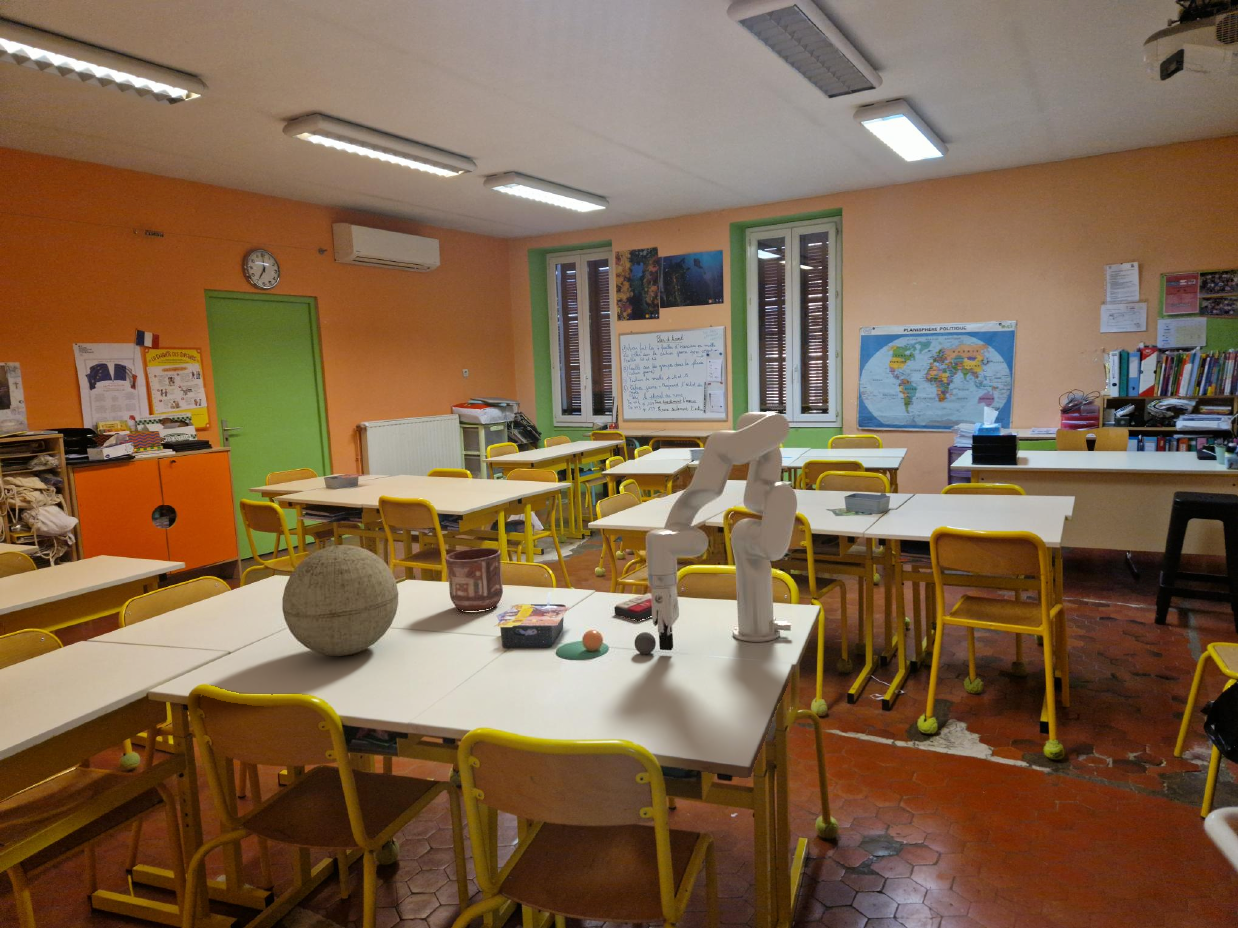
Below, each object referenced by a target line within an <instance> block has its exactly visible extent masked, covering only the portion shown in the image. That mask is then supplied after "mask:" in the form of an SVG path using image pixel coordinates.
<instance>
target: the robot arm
mask: <svg viewBox="0 0 1238 928" xmlns="http://www.w3.org/2000/svg"><path fill="white" fill-rule="evenodd" d="M789 434H790V424H789V421H788V419H787V418H786V417H785V416H784V415H783V414H781V413H778V412H772V411H771V412H769V411H768V412H767V411H765V412H764V411H752V412H751V411H749V412H746V413H743V414H741V415H740V416H739V417H738V419H737V421H736V430H724V429H723V430H717V431H714V432H712V433H711V434H710V435H709V436H708V438H707V440H706V443H705V444H704V448H703V450H702V453H701V455H700V458H699V461H698V463H697V466H696V469H695V471H694V474H693V477H692V479H691V482H690V483H689V485H688V486H687V487H686V488H685V489H684V490H683V492H681V494H680V495H679V497H678V498H677V499H676V501H675V502H674V504H673V505H672V506H671V508H670V511H669V513H668V516H667V518H666V521H665V523H664V526H663V528H662V529H659V528H658V529H653V530H650V531H648V532H647V533H646V536H645V547H646V548H645V550H646V567H647V585H648V587H650V588H651V594H652V595H651V596H652V618H651V619H652V624H653V625H654V627H656V626H657V632H658V643H659V650H660V651H661V650H662V651H672V650H673V648H674V636H673V625H674V624H675V622H676V621H677V620H678V618H679V616H680V607H679V597H678V590H677V586H678V584H679V578H678V564H677V563H678V562H677V561H678V560H677V558H696V557H700V556H701V555H703V554H704V553H705V552H706V551H707V549H708V547H709V538H708V536H707V534H706V533H705V532H704V531H703V530H702V529H699V528H698V527H694V526H692V524H693V522H694V519H695V518H696V515H697V514H698V513H699V512H700V511H701V510H702V508H704V507H705V506H706V505H708V504H710V503H711V502H713V501H715V500H717V499H718V498H720V497H721V496H722V495H723V493H724V490H725V487H726V485H727V482H728V480H729V477H730V474H731V470H732V469H733V466H734V465H735V466H738V465H739V466H741V465H745V464H749V467H748V473H747V477H746V483H745V487H744V493H743V500H742V501H743V506H744V507H745V509H746V510H747V511H749V512H750V513H753V514H756V515H759V516H762V517H761V520H760V519H756V518H743V519H741V520H738V521H737V522H736V523H735V524H734V526H733V527H732V529H731V534H730V543H731V549H732V552H733V553H732V554H733V557H734V565H735V582H736V584H735V585H736V586H735V587H736V605H737V608H736V609H737V626H735V627H734V628H733V629H732V635H733V637H734V638H735V639H737V640H740V641H744V642H749V643H750V642H752V643H759V642H760V643H761V642H769V641H773V640H776V639H778V638H779V637H780V635H781V631H784V632H786V631H787V632H791V631H792V624H791V623H789V622H788V621H784V620H783V621H781V620H780V621H779V620H778V619H776V618H777V617H776V615H774V598H773V596H774V594H773V570H772V564H771V561H772V562H773V561H774V562H775V561H778V560H781V559H782V558H783V557H784V556H785V555H786V554H787V552H788V549H790V548H789V547H790V544H791V541H792V536H793V531H794V525H795V520H796V514H797V509H798V497H797V494H796V492H795V490H794V488H793V487H792V486H791V485H789V484H788V483H786V482H782V481H781V475H782V468H783V455H782V451H781V448H780V445H782V444H783V443H784V442H785V440H786V439H788V436H789Z"/></svg>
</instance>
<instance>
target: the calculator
mask: <svg viewBox="0 0 1238 928" xmlns="http://www.w3.org/2000/svg"><path fill="white" fill-rule="evenodd" d="M651 595H652V592H651V593H650V592H648V593H644V594H643V595H639V596H636V597H634V598H633V597H632V598H631V599H628V600H625V601H623V602H620V603H618V604H616V605H615V606H614V607H613V608H614V609H613V610H614V616H617V615H618V616H617V617H620V616H623V617H622V618H624V617H625V619H627V618H630V619H629V620H631V619H635V620H637V621H636V622H638V621H640V620H642V619H646V618H648V617H650V616H652V596H651ZM635 620H634V621H635ZM646 620H647V619H646ZM640 622H641V621H640Z"/></svg>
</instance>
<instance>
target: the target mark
mask: <svg viewBox="0 0 1238 928" xmlns="http://www.w3.org/2000/svg"><path fill="white" fill-rule="evenodd" d="M609 649H610V647H609V645H608V644H607V643H604V642H603V644H602V646H601V648H600V649H598V650H597V651H588V650H587V649H585V648H584V646H583V644H582V640H576V641H571V642H568V643H565V644H562V645H560V646H559V647H557V648H556V650H555V653H556V656H558V657H560V658H562V659H564V660H570V661H571V660H572V661H573V660H575V661H581V660H591V659H596V658H598V657H601V656H603V655H606V653H608V651H609Z"/></svg>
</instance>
